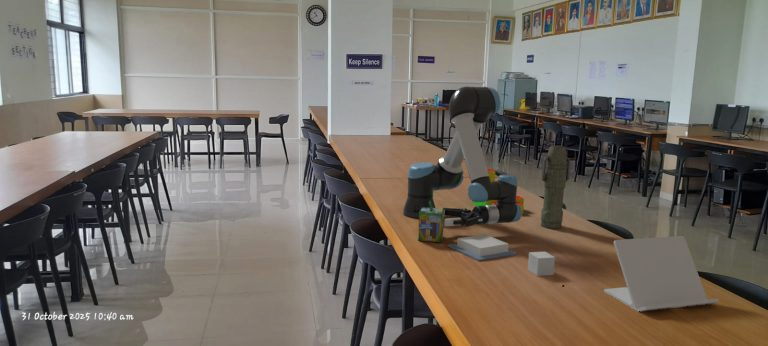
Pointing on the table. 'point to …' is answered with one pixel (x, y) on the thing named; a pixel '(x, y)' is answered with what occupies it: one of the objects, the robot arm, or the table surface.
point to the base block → (482, 245)
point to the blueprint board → (481, 258)
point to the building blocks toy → (494, 202)
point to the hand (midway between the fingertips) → (436, 218)
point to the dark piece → (554, 186)
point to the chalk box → (431, 224)
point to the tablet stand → (658, 274)
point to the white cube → (541, 263)
